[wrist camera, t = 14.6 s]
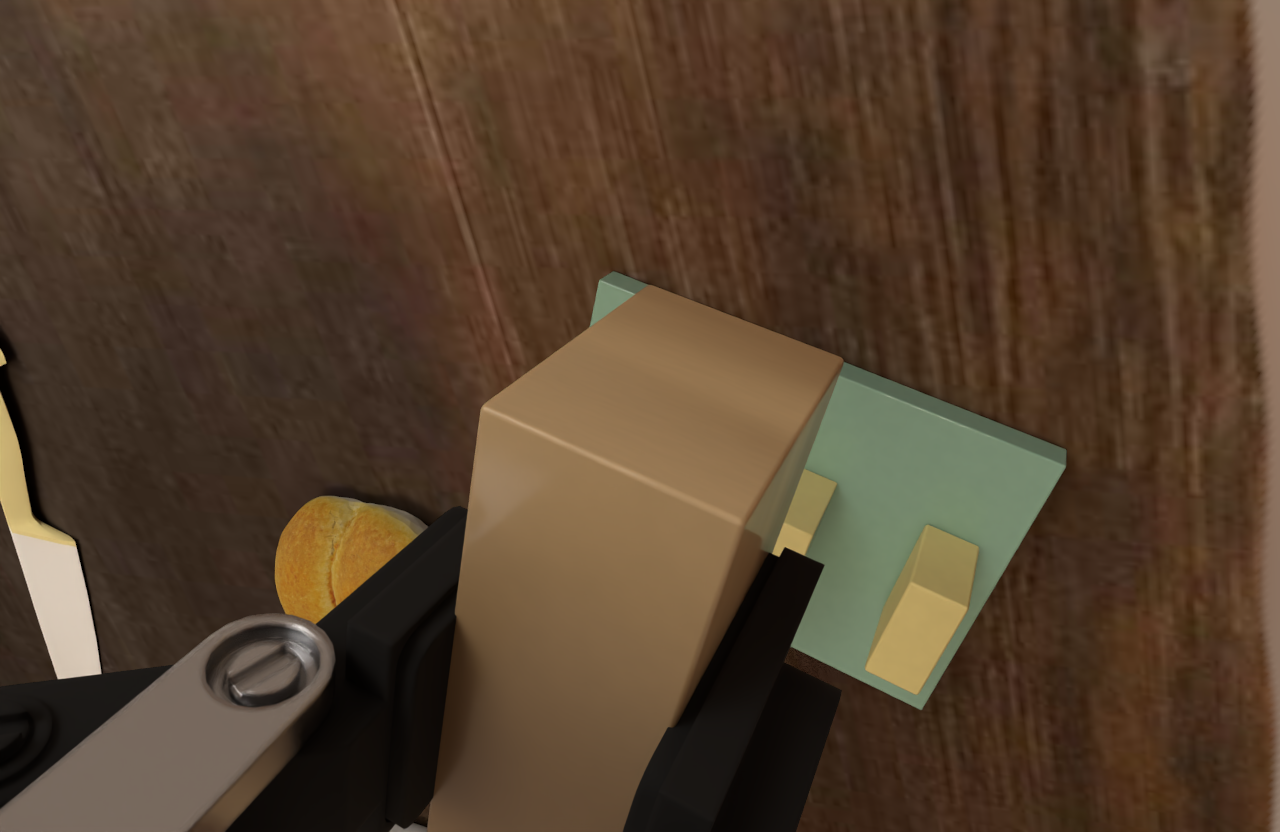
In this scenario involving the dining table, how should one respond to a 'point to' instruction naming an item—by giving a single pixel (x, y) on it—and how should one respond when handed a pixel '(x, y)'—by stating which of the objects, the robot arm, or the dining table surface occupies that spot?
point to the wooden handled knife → (613, 554)
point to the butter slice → (923, 609)
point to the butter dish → (896, 503)
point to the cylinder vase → (409, 828)
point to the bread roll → (336, 551)
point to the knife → (47, 567)
